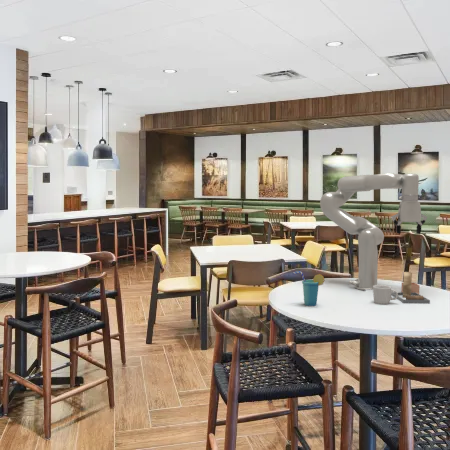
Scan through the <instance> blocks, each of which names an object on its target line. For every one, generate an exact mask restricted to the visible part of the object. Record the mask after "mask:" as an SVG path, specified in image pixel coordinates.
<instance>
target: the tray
mask: <svg viewBox="0 0 450 450" xmlns="http://www.w3.org/2000/svg"><path fill="white" fill-rule="evenodd" d="M397 292H398V291H397ZM400 296H403V292H400V291H399V292H398V297H397V299H396V300H398V301H400V303H402V304H423V305H424V304H431V299H428V298H427V297H426V296H423V297H424V300H406V299H405V298H403V297H400ZM411 296H422V295H421V294H420V293H419V294H418V293H416V292H411ZM391 297H392V298H395V297H396V293H395V292H392V294H391Z"/></svg>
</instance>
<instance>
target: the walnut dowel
mask: <svg viewBox="0 0 450 450" xmlns="http://www.w3.org/2000/svg"><path fill="white" fill-rule="evenodd" d="M424 297H425V296H423V295H421V296H415V295H411V296H406V298H405V300H424Z"/></svg>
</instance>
